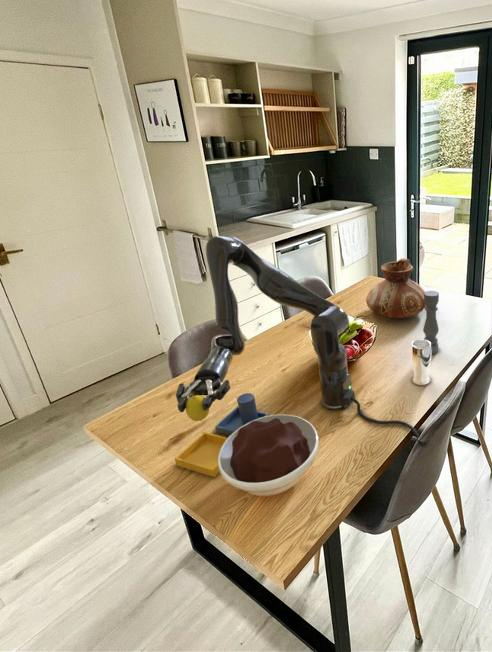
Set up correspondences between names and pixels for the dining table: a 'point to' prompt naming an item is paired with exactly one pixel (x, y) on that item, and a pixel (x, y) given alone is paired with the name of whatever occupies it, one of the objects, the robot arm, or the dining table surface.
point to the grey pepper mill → (431, 319)
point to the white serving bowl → (268, 454)
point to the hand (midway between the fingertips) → (192, 408)
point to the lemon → (196, 408)
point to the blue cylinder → (247, 408)
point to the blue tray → (233, 422)
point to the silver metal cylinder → (421, 361)
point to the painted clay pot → (396, 292)
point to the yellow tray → (202, 454)
